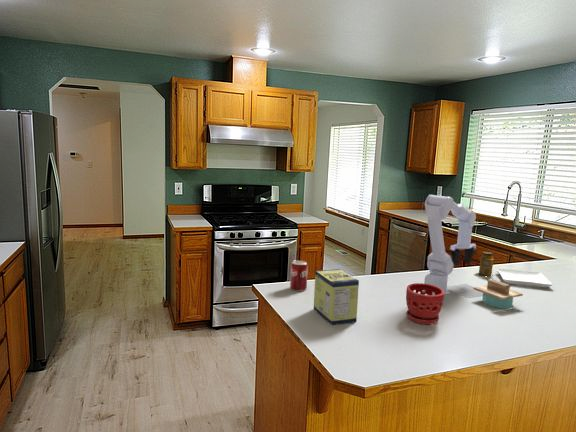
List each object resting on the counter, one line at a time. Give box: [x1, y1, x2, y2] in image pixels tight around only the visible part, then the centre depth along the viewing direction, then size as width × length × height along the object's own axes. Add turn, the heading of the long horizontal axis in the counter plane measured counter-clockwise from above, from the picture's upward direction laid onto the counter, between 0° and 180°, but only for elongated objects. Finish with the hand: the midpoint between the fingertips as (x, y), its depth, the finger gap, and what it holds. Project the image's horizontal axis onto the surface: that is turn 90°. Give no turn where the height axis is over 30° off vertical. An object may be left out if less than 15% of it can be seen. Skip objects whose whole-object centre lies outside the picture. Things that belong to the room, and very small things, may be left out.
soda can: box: [289, 260, 309, 292], centre depth 180 cm, size 7×7×12 cm
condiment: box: [473, 251, 495, 279], centre depth 213 cm, size 7×8×12 cm
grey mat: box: [446, 283, 483, 299], centre depth 186 cm, size 15×15×1 cm
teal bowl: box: [481, 293, 514, 310], centre depth 171 cm, size 11×11×5 cm
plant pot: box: [405, 282, 445, 325], centre depth 151 cm, size 13×13×12 cm
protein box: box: [313, 268, 360, 326], centre depth 151 cm, size 10×16×16 cm
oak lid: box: [473, 278, 524, 300], centre depth 170 cm, size 13×13×4 cm
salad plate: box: [495, 268, 553, 288], centre depth 205 cm, size 21×21×3 cm
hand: (461, 264), depth 193 cm, fingers open, 7 cm apart
